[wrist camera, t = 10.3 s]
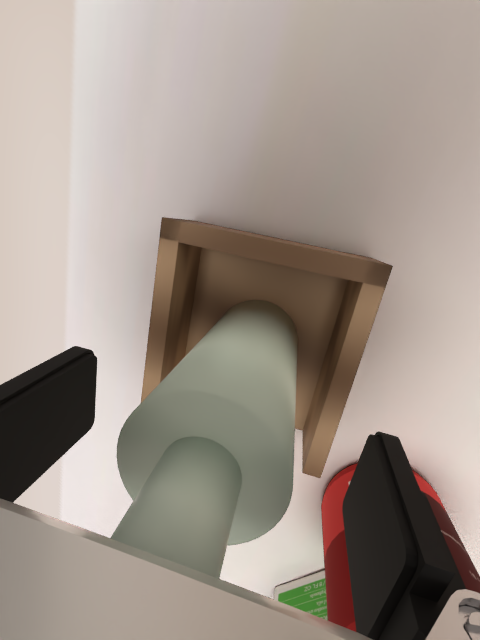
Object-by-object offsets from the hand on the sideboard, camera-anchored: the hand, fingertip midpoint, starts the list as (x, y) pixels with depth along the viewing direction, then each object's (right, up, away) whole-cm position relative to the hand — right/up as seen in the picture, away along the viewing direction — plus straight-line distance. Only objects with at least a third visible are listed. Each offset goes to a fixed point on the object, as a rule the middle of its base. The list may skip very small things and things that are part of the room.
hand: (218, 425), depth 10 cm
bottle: (+2, +2, +10) cm, 10 cm away
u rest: (+2, +3, +10) cm, 11 cm away
